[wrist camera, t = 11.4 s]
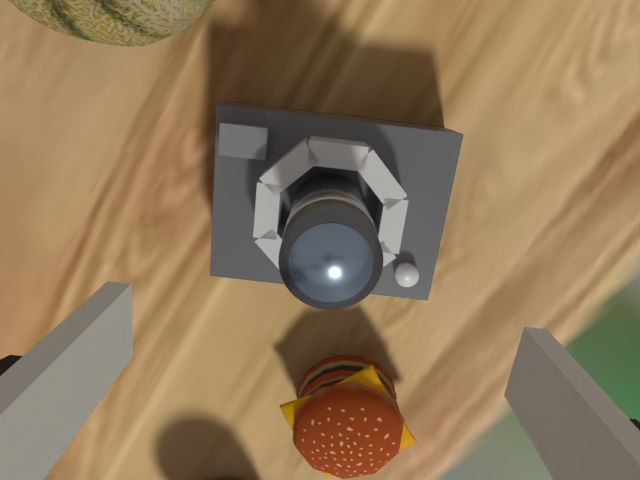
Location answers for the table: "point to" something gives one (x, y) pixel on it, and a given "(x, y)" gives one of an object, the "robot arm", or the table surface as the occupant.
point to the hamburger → (347, 418)
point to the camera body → (329, 157)
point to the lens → (330, 244)
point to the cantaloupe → (115, 18)
